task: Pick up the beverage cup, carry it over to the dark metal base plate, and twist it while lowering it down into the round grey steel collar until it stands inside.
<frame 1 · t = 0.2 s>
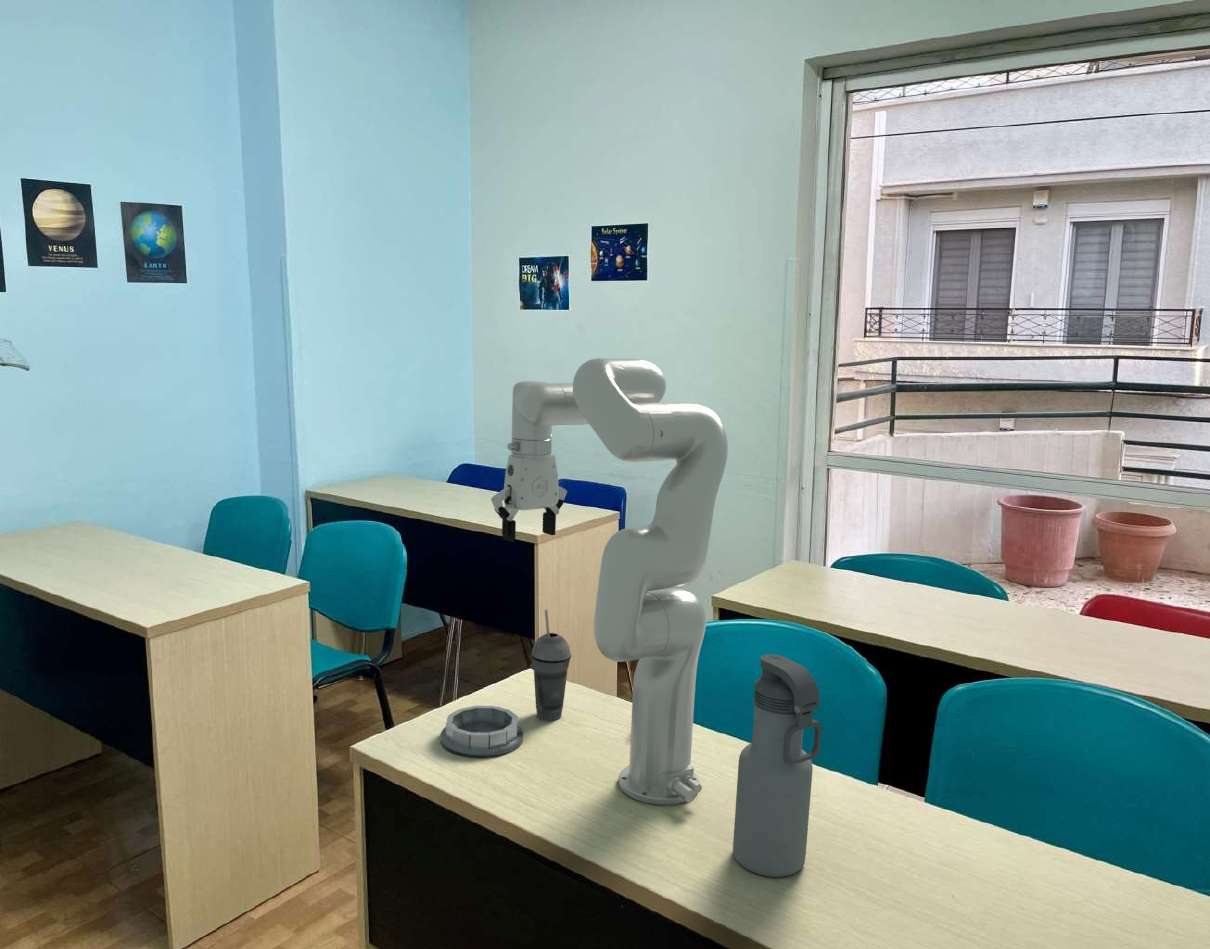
hand: (529, 537, 177), 31 cm above the table, tool pointing down, fingers open, 9 cm apart
beverage cup: (549, 716, 170), on the table
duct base: (482, 739, 160), on the table
water bottle: (769, 860, 127), on the table
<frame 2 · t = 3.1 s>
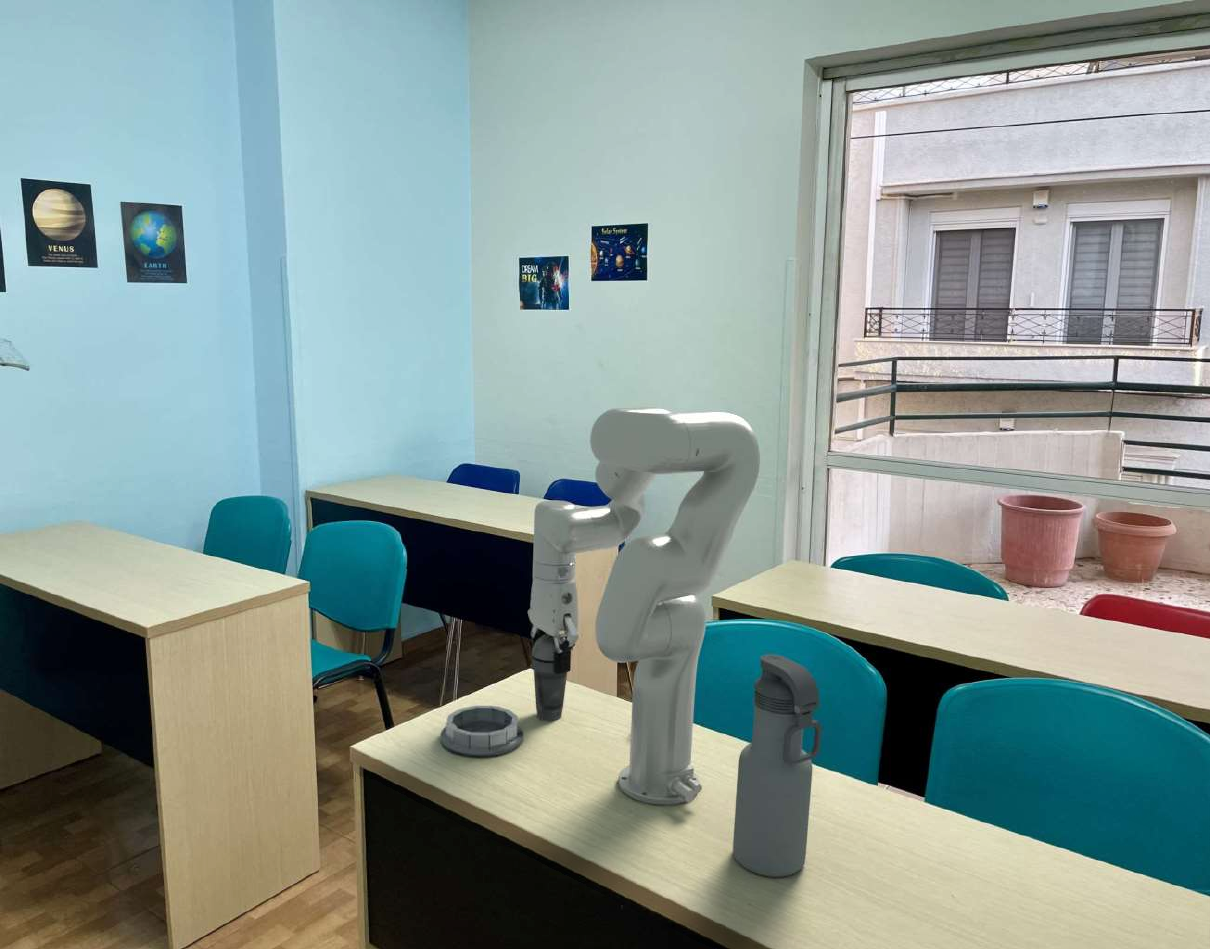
hand: (550, 664, 169), 10 cm above the table, tool pointing down, fingers closed on beverage cup, 7 cm apart
beverage cup: (549, 716, 170), on the table, touching gripper
everything else where it was.
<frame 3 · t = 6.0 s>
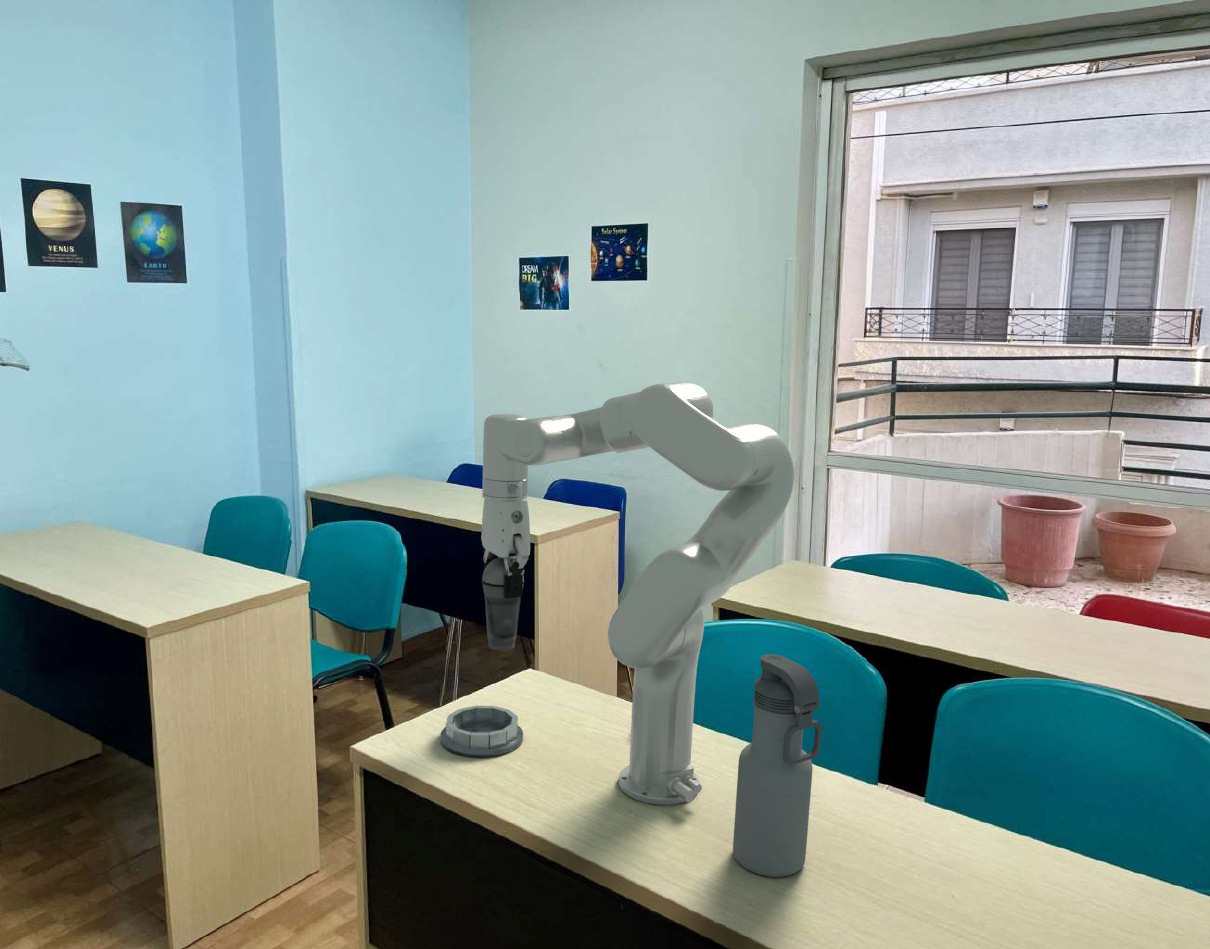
hand: (502, 590, 158), 26 cm above the table, tool pointing down, fingers closed on beverage cup, 7 cm apart
beverage cup: (501, 646, 160), point 16 cm above the table, touching gripper
everything else where it was.
when the fingers open (12 cm above the table, at t = 9.0 s): beverage cup drops 1 cm, resting on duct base.
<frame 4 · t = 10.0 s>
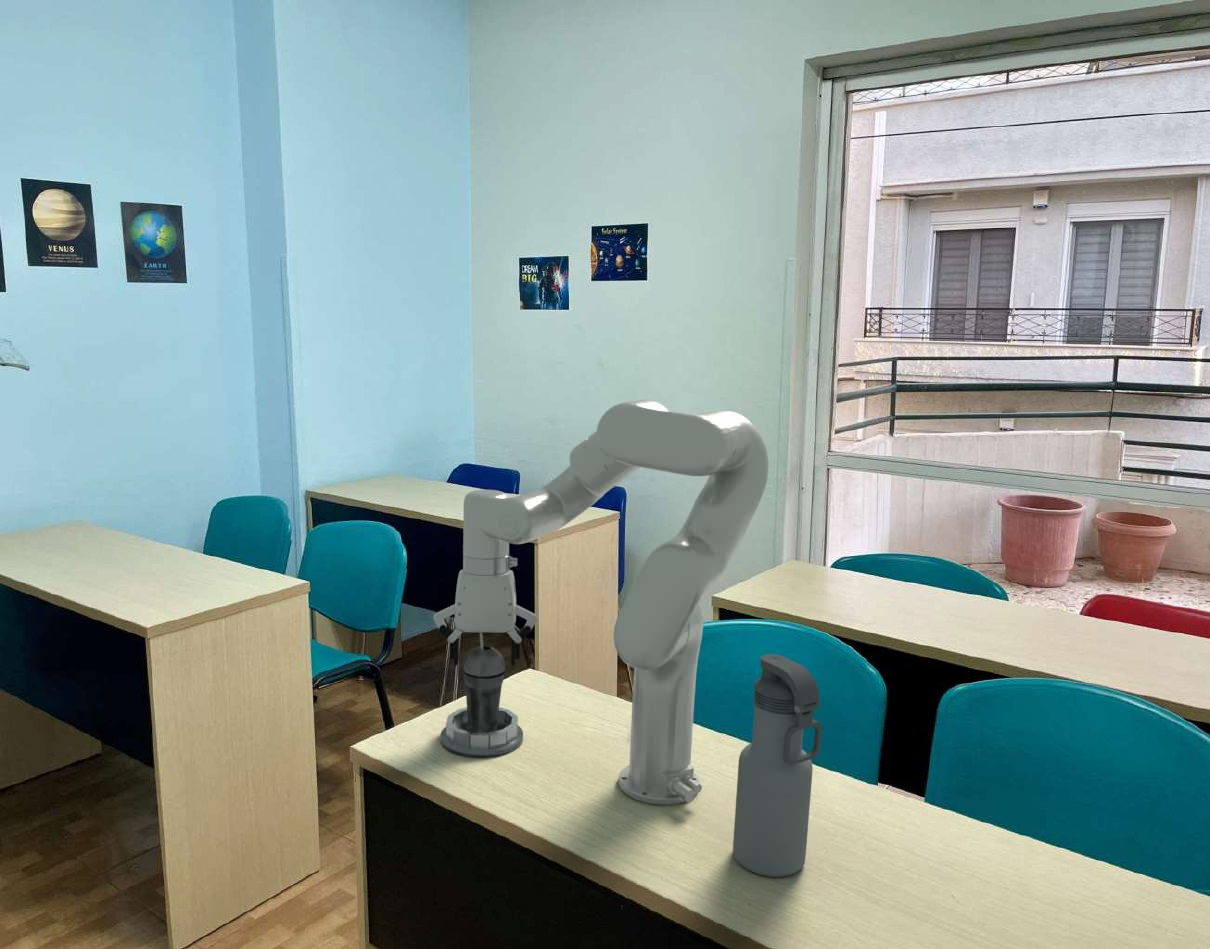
hand: (485, 663, 157), 14 cm above the table, tool pointing down, fingers open, 9 cm apart
beverage cup: (482, 734, 160), point 1 cm above the table, touching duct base
everything else where it was.
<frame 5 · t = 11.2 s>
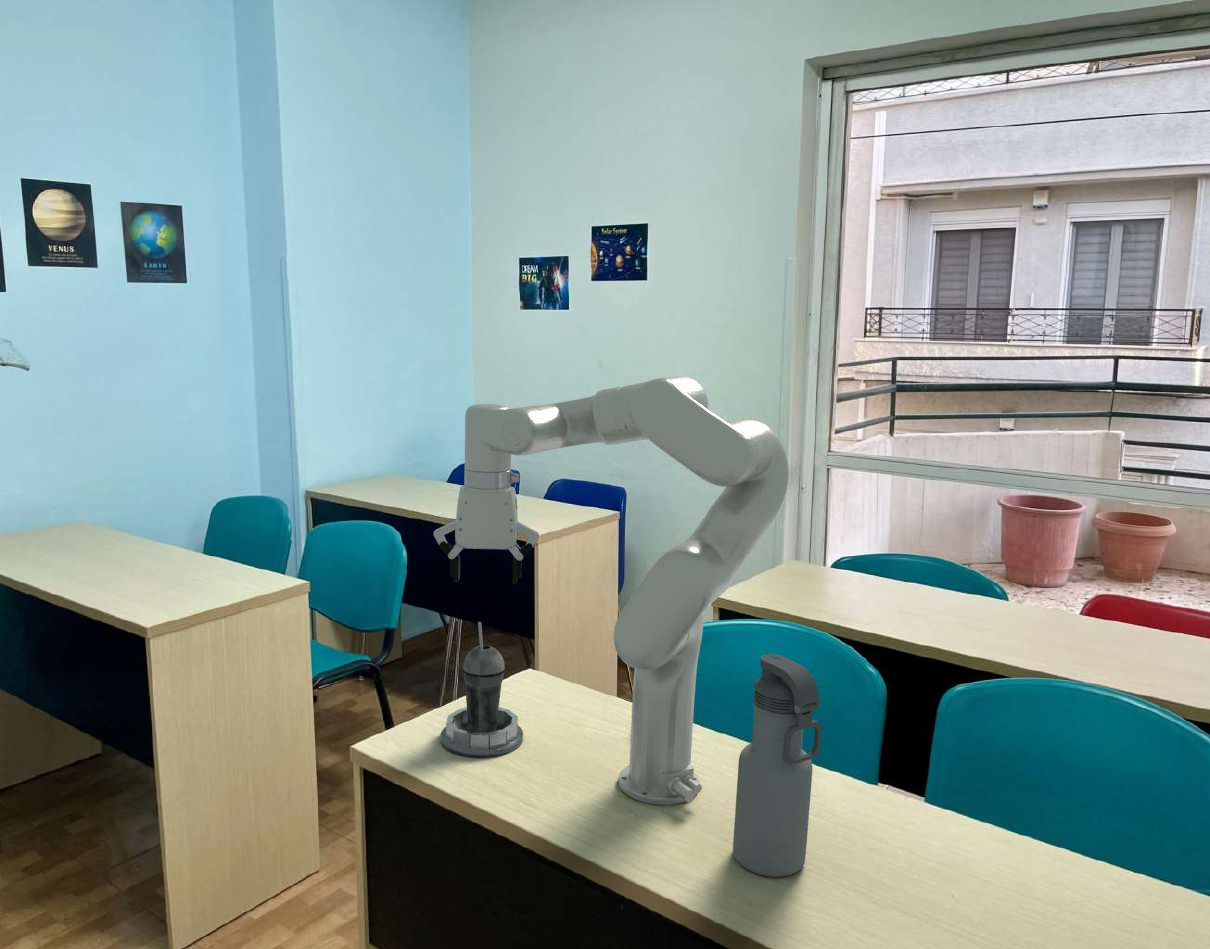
hand: (485, 581, 155), 28 cm above the table, tool pointing down, fingers open, 9 cm apart
nothing on the table moved.
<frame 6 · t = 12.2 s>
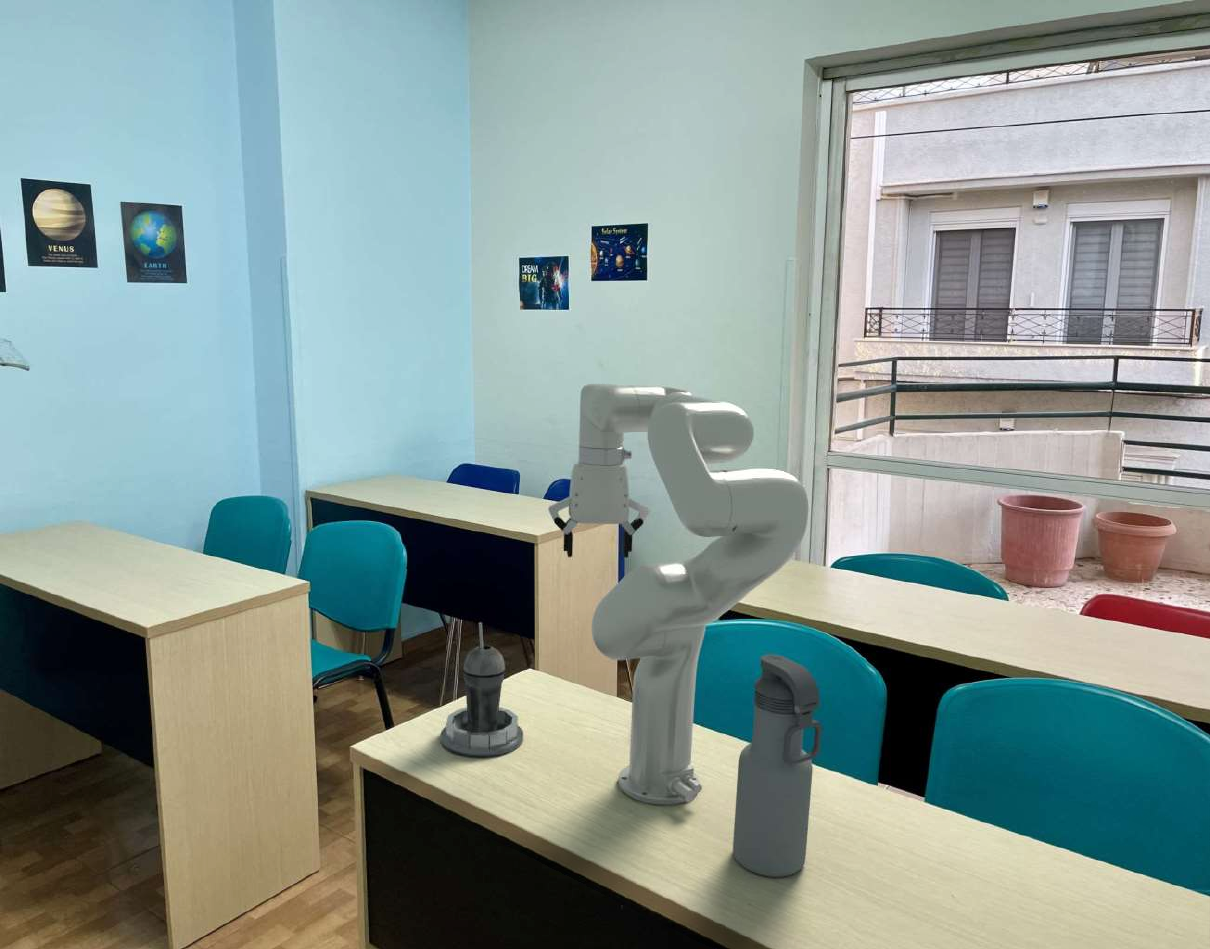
hand: (597, 555, 160), 32 cm above the table, tool pointing down, fingers open, 9 cm apart
nothing on the table moved.
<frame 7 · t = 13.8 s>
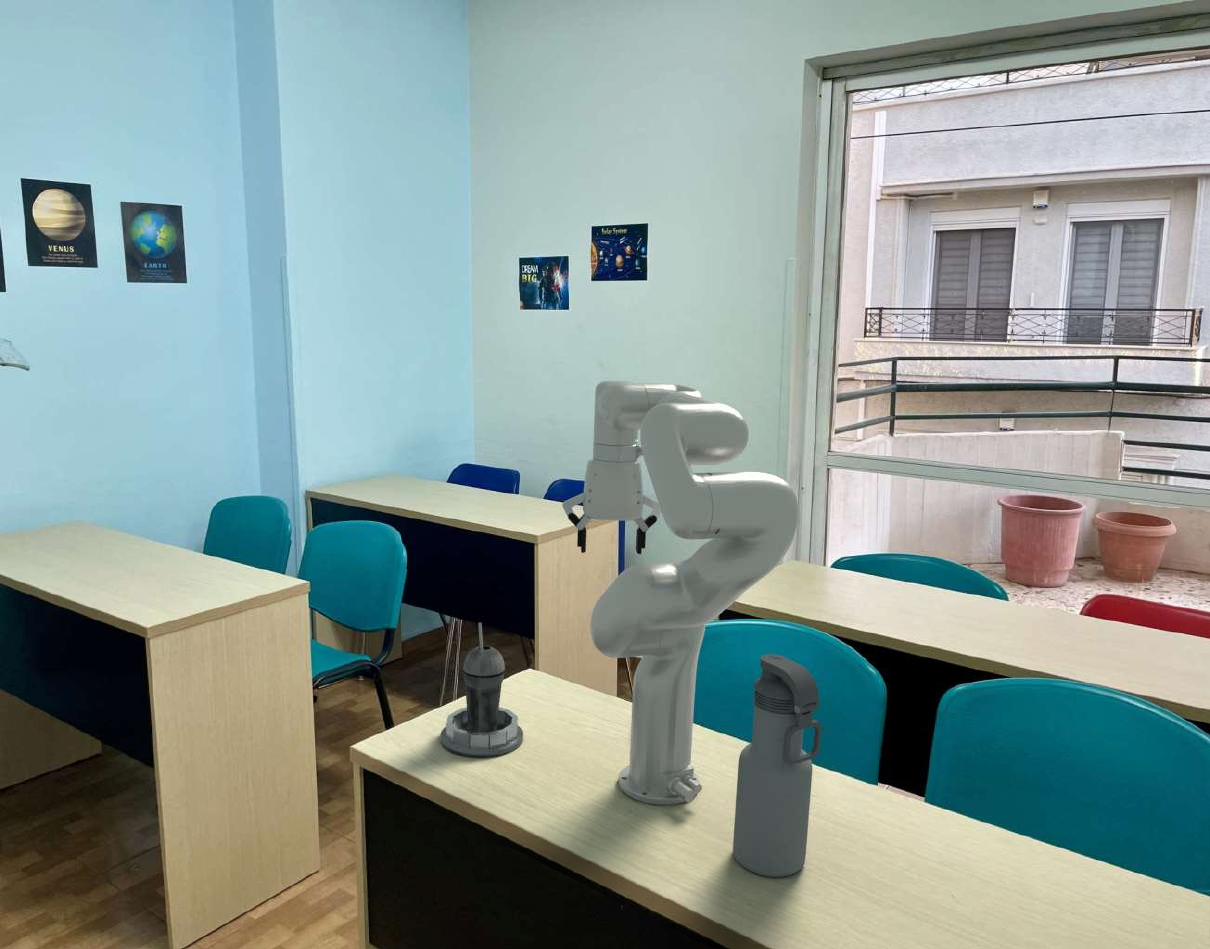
hand: (610, 551, 161), 32 cm above the table, tool pointing down, fingers open, 9 cm apart
nothing on the table moved.
at the end: beverage cup 0.1 cm off-centre on the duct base, point 0.8 cm above the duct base's base; beverage cup tilted 0°; the gripper is holding nothing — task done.
